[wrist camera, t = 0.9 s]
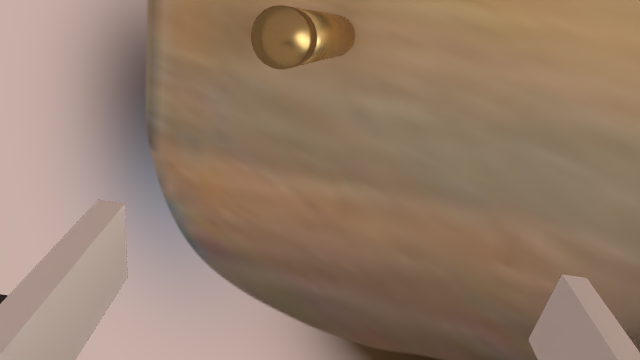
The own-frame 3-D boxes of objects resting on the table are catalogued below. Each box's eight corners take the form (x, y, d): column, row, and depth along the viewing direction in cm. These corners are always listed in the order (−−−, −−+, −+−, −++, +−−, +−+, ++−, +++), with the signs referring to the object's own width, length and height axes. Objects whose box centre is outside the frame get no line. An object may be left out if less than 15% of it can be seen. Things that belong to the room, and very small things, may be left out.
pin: (363, 33, 33) (322, 34, 21) (337, 64, 34) (284, 81, 22) (333, 6, 33) (275, -9, 21) (309, 38, 34) (239, 41, 22)
